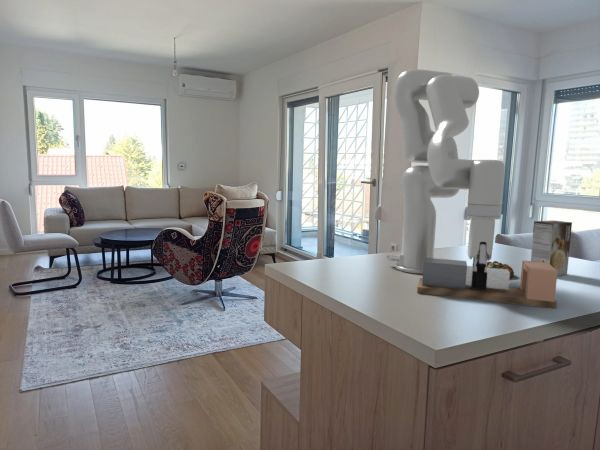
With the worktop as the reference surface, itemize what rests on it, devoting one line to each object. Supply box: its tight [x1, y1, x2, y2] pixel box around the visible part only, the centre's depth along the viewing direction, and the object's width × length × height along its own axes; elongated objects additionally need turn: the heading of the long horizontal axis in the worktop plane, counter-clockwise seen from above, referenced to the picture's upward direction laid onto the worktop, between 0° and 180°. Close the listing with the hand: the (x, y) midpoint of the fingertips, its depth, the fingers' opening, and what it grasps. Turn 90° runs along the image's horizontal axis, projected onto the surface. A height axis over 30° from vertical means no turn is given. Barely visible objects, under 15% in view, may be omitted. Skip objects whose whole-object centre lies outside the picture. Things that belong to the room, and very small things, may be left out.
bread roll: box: [487, 260, 515, 279], centre depth 126 cm, size 11×11×5 cm
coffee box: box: [530, 220, 573, 277], centre depth 128 cm, size 9×6×16 cm
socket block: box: [519, 259, 558, 302], centre depth 99 cm, size 6×10×7 cm, turn 161°
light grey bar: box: [466, 265, 511, 289], centre depth 104 cm, size 18×4×4 cm, turn 71°
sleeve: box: [422, 257, 468, 290], centre depth 106 cm, size 10×6×6 cm, turn 71°
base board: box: [416, 277, 558, 310], centre depth 104 cm, size 30×10×2 cm, turn 71°
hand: (478, 285), depth 104 cm, fingers closed on light grey bar, 4 cm apart
